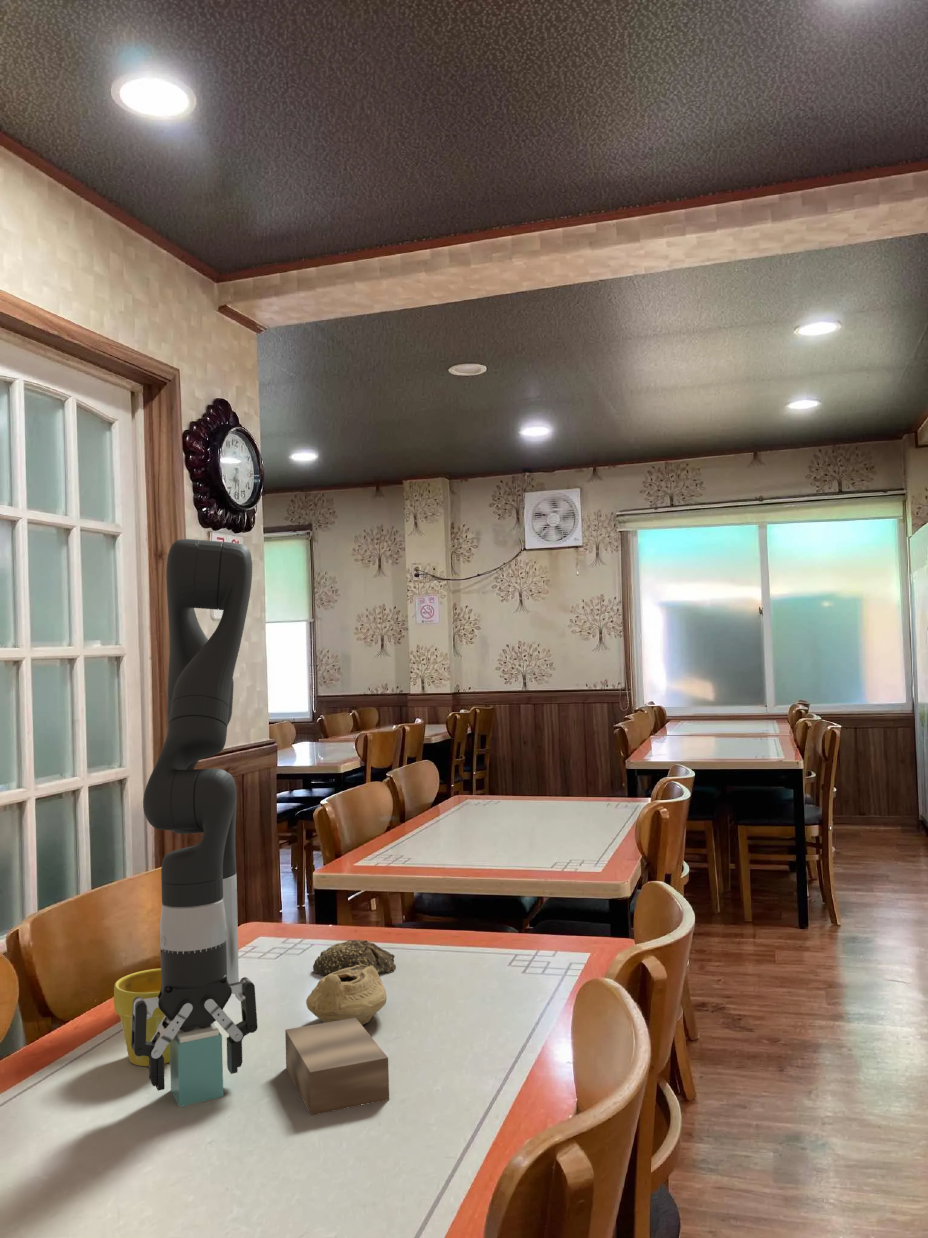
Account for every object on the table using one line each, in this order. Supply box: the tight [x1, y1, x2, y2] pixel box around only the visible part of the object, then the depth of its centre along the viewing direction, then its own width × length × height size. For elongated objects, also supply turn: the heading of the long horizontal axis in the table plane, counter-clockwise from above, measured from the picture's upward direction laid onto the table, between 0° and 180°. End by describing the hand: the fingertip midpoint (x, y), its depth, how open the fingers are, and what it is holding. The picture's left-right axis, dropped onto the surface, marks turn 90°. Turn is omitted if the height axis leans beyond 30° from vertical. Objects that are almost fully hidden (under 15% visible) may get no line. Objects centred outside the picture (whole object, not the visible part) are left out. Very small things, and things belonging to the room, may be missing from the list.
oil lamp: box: [305, 965, 388, 1026], centre depth 138 cm, size 11×15×8 cm
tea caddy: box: [169, 1022, 224, 1108], centre depth 115 cm, size 5×5×8 cm
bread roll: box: [312, 939, 397, 978], centre depth 160 cm, size 13×12×5 cm
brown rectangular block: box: [284, 1018, 390, 1116], centre depth 116 cm, size 14×9×5 cm, turn 22°
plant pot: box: [113, 967, 173, 1067], centre depth 126 cm, size 10×10×10 cm
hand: (196, 1079), depth 115 cm, fingers open, 8 cm apart
